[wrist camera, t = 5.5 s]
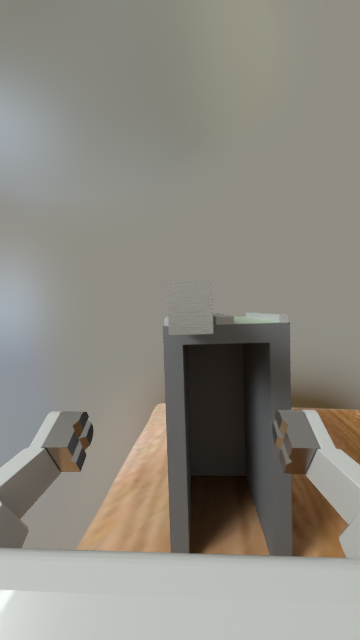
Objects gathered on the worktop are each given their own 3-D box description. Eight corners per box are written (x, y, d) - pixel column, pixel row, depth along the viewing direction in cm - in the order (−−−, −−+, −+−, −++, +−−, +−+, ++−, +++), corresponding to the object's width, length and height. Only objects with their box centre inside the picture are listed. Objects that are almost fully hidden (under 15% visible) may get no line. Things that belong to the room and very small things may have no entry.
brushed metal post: (183, 319, 40) (182, 298, 40) (204, 318, 40) (204, 297, 40) (168, 335, 16) (167, 283, 16) (220, 333, 16) (219, 281, 16)
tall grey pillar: (179, 467, 43) (174, 314, 41) (254, 467, 42) (252, 312, 41) (171, 562, 27) (162, 318, 25) (292, 565, 26) (289, 314, 25)
